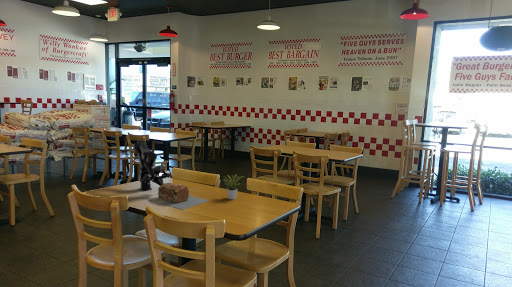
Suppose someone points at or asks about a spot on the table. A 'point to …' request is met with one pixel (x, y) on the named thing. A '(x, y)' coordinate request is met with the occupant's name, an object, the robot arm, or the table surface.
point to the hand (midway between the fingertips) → (163, 186)
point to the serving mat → (186, 203)
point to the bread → (173, 192)
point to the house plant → (232, 187)
